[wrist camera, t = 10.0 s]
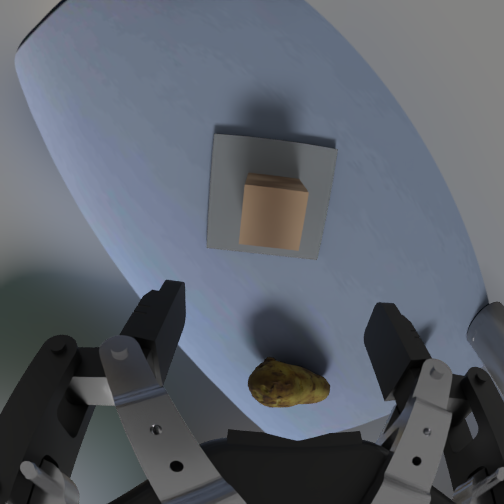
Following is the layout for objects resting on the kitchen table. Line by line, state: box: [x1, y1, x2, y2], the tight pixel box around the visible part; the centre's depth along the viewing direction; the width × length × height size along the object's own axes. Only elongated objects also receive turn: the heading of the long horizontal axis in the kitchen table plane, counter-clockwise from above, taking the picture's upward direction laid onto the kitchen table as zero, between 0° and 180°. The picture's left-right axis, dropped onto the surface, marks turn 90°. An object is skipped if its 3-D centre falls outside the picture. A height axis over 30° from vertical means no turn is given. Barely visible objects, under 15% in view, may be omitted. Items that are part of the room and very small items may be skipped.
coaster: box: [207, 134, 338, 260], centre depth 28 cm, size 12×12×1 cm
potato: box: [248, 357, 330, 407], centre depth 35 cm, size 8×13×8 cm, turn 34°
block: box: [239, 173, 309, 251], centre depth 25 cm, size 5×5×6 cm
